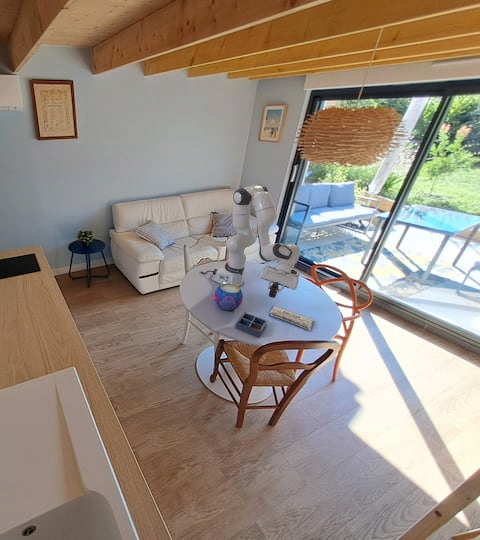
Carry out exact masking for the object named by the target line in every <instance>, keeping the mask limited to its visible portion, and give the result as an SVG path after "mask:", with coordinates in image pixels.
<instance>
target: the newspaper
mask: <svg viewBox="0 0 480 540" xmlns="http://www.w3.org/2000/svg"><path fill="white" fill-rule="evenodd" d="M269 314H270V316H272V317H274V318H277V319H280V320H282V321H283V320H284V321H286V322H288V323H291V324H293V325H296V326H298V327H301V328H302V329H305V330H307V331H311V329H312V326H313V321H314V319H312V318H310V317H307V316H304V315H301V314H299V313H295V312H294V311H290V310H287V309H284V308H282V307H279V306H276V305H274V306H273V307H272V309H271V310H270V312H269Z"/></svg>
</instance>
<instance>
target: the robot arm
mask: <svg viewBox="0 0 480 540" xmlns="http://www.w3.org/2000/svg"><path fill="white" fill-rule="evenodd" d="M232 199H233V204H232V213H231V214H232V226H233V228H235V230H236V234H235V235H232V236H229V238H228V239H226V241H225V247H226V249H227V250H228V251H229V258H228V260H227V261H226V263H225V264H224V266H223V267H220V268H214V269H213V270H206V271H205V272H204V271H200V273H201V274H204V275H205V274H207V273H212V275H211V278H210V279H211V280H212V281H214V282H216V283H218V284H219V285H221V284H224V283H231V284H234V285H236V286H238V287H239V288H240V287H241V286H243V285H244V284H243V283H244V282H243V275H244V272H245V267H246V266H245V265H246V260H247V256H246V255H245V249H247V248H250V247H251V246H252V245H254V244H255V243H256V242H257V238H258V244H259V250H258V255H259V258H260V259H261V260H262V261H264V262H267V263H268V262H273V261H278V262H277V263H276V266H272V265H265V266H264V267H263V269H262V272H261V273H260V275H259V276H260V279H261V280H262V281H263V280H264V281H266V282H267V283H268V284H267V285H268V286H267V289H268V290H270V288H271V285H272V284H273V282H278V284H279V285H278V286H281V287H279V288H278V290H277V293H281V291H283V290H284V289H285V288H287V289H290V290H292V291H295V290H297V288H298V286H299V279H300V273H299V271H297V270H296V269H295V265H296V264H297V263H298V260H299V258H300V256H301V248H300V247H299V246H297V245H296V244H294V243H288V244H285V243H283V242H276V243H271V239H270V233H269V230H270V228H271V226H272V225H273V224H274V223H275V221H276V220H277V219H278V211H277V208H276V205H275V201H274V198H273V197H272V195H271V193H270V192H269V190H268V188H267V186H266V185H264V184H255V185H253V184H252V185H248V186H245V187H240V188H238V189H237V190H235V191H234V192H233V196H232ZM251 205H252V206H253V208H254V212H255V217H256V233H257V235H256V233H255V232H254V230H253V229H252V225H251Z"/></svg>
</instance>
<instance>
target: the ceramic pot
mask: <svg viewBox="0 0 480 540" xmlns="http://www.w3.org/2000/svg"><path fill="white" fill-rule="evenodd" d="M213 297H214V298H213V299H214V302H215V304H216V306H217V307H219V308H220V309H222V310H225V311H234V310H236V309H238V308H239V307H240V306H241V305H242V303H243V301H244V294H243V291H242V289H241V288H240V286H239V287H238V286H236V285H234V284H231V283H224V284H219V285H218V286H217V287H216V289H215V291H214V292H213Z"/></svg>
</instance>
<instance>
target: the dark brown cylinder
mask: <svg viewBox="0 0 480 540" xmlns="http://www.w3.org/2000/svg"><path fill="white" fill-rule="evenodd" d="M270 286H271V288H270V289H269V292H268V297H269V298H272V299H275V298H277V294H278V292H277V290H278V289H280V287H279V286H280V285H279V284H278V282H273V283H271V284H270Z"/></svg>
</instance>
